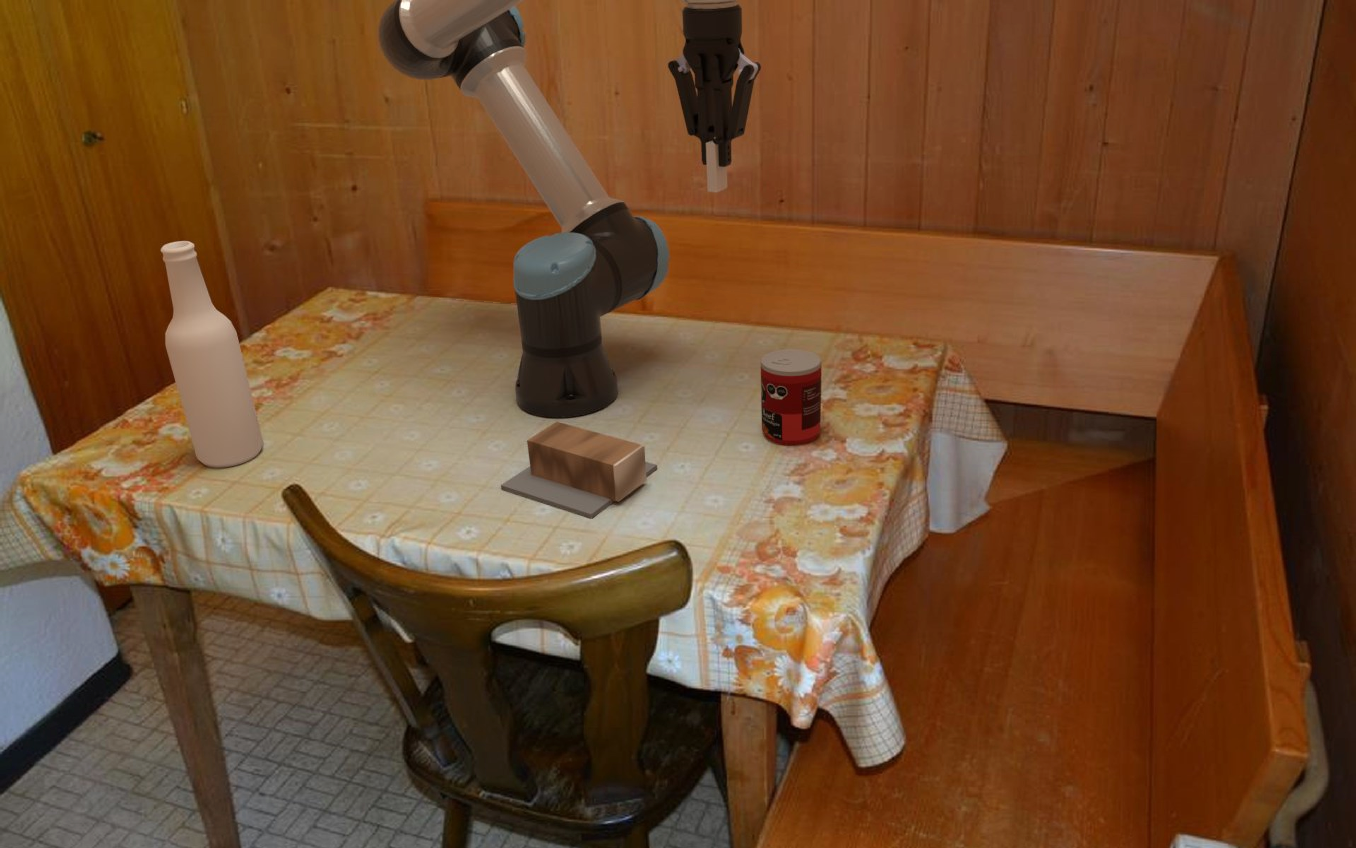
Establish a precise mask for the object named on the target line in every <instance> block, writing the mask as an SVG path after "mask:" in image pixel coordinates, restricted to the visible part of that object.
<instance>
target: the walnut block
mask: <svg viewBox="0 0 1356 848" xmlns="http://www.w3.org/2000/svg"><path fill="white" fill-rule="evenodd" d="M526 442H527V443H526V444H527V451H528V453H527V454H528V459H529V460H528V461H529V466H530V469H531V475H534V476H537V477H540V478H544V479H547V480H550V481H553V482H556V483H560V484H563V485H566V486H569V487H573V488H576V489H579V490H582V491H586V492H589V493H592V494H595V495H598V496H602V497H605V498H608V499H611V500H615V501H614V502H621V500H623V499H624V498H625V497H627V496H628V495H629V494H631V493H632V492H633V491H635V490H637V489H638V488H639V487H640V486H642V485H643V484H644V483H646V481H647V479H648V477H646V463H645V462H646V452H645V445H643V444H640V443H637V442H632V441H631V440H626V439H622V438H617V437H614V436H610V435H607V434H604V433H600V432H596V431H593V430H588V429H586V428H582V427H579V426H575V425H572V424H567V423H562V422H560V421H555V422H553V423H552V424H551V425H549V426H547V427H546V428H544V429H543V430H541V431H540V432H538V433H536V434H535V435H533V436H532V437H530V438H528V439H527V440H526Z"/></svg>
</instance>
